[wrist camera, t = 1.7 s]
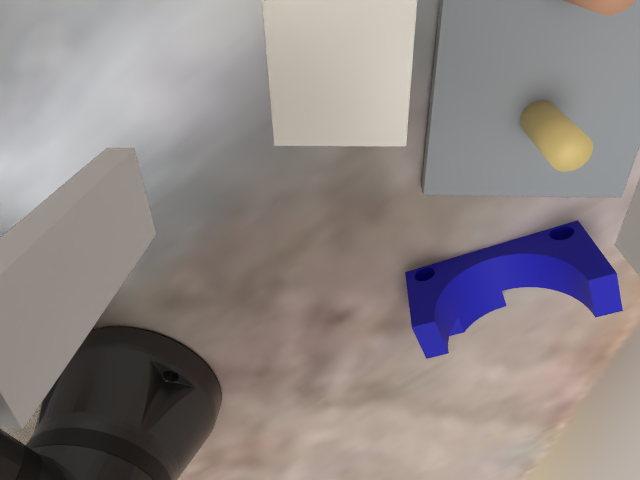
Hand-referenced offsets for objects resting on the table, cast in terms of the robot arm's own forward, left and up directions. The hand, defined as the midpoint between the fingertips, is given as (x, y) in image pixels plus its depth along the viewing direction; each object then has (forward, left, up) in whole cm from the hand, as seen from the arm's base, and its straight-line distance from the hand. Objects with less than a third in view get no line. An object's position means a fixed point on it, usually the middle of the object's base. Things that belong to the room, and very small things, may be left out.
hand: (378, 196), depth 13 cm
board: (+10, 0, -17) cm, 19 cm away
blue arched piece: (+9, -15, -18) cm, 25 cm away
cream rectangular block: (-2, +1, -17) cm, 17 cm away
